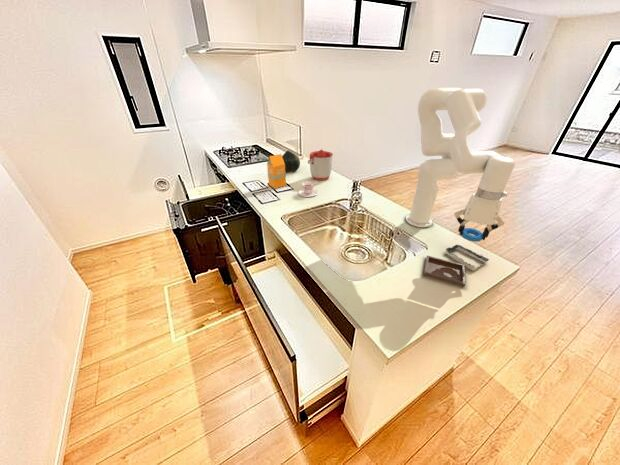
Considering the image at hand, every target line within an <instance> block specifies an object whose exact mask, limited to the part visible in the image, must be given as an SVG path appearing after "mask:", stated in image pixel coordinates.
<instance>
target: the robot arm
mask: <svg viewBox="0 0 620 465" xmlns="http://www.w3.org/2000/svg"><path fill="white" fill-rule="evenodd" d="M487 97H488V96H487V94H486V92H485V91H484V90H483V89H481V88H472V87H471V88H470V87H455V86H453V87H450V86H449V87H433V88H429V89H426V90H425V91H424V92H423V93H422V95H420V97H419V100H418V104H417V114H418V119H419V123H420V147H421V154H422V155H423V156H425V157H441V158H431V159H427V160H424V161H422V162H421V163H420V164H419V167H418V171H417V172H418V174H417V184H416V187H415V193H414V197H413V201H412V205H411V209H410V212H409V213H408V214H407V215H406V216H405V221H406V222H407V223H408V224H410V226H413V227H418V228H429V227H431V226H432V224H433V219H432V218H431V216H432V213H433V211H434V210H433V209H434V207H435V203H436V199H437V196H438V193H439V186H438V184H437V181H443V180H451V179H454V178H456V177H457V175H458V174H459V173H460V174H462V175H472V174H482V175H481V177H480V181H479V184H478V186H477V188H476V191H475V192H473V193H472V194H471V196H470V198H469V199H468V201H467V203H466V205H465V208H463V209H461V210H458V211H456V212H454V217H455V218H456V219H455V220H457V222H458V223H459V226H458V230H457V233H459V236H461V235H462V233H463V231H464V229H465V228H466V224H467V223H470V222H471V223H475V224H480V225H486V227H484V229H483V232H482V233H483V238H482V240H481V241H485V240H486V238H488V237H489V235H490V233H491V232H492V231H494V230H496V229H498V228H500V227H502V226H504V225H505V221H504V220H503V218H501V217H500V215H499V213H500V210H501V207H502V201H503V198H504V197H508V192H505V189H506V188H507V187H506V186H507V184H508V182H509V180H510V178H511V175H512V173H513V170H514V168H515V165H516V162H515V160H514V159H512V158H511V157H506V156H502V155H501V154H499V153H497V152H495V151H493V150H476V151H470V148H469V145H468V143H467V138H468V137H467V136H469V135H471V134H473V133H474V132H476V131H477V130H478V129H479V128H480V127H481V125H482V120H481V117H480V116H479V113H480V112H481V111H482V110H483V109H484V108H485V107H486V104H487V103H488V102H487V100H488V98H487ZM437 111H447V114H448V116H449V120H450V122H451V125H452V128H453V130H454V133H451V132H446V133H445V132H443V122H442V119H441V117H440V116H439V114H438V113H437ZM462 215H463V218H462V217H461V216H462Z"/></svg>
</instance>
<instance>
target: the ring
mask: <svg viewBox="0 0 620 465" xmlns="http://www.w3.org/2000/svg"><path fill="white" fill-rule="evenodd" d="M460 236H461V237H462V238H463V239H464V240H467V241H469V242H474V243H476V242H477V243H479V242H481V241H483V240H482V238H483V232H482V231H480V230H478V229H476V228H472V227H465V228H464V231H463V233H462V235H460Z"/></svg>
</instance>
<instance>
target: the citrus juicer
mask: <svg viewBox="0 0 620 465" xmlns="http://www.w3.org/2000/svg"><path fill="white" fill-rule="evenodd" d="M333 156H334V154H333V152H330V151H327V150H323V149H320V150H315V151H311V152H310V153H309V159H308V160H307V164H309V169H310V174H311V178H312V179H313V180H315V181H317V182H319V181H326V180H329V179H330V177H331V174H332V170H333Z"/></svg>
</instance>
